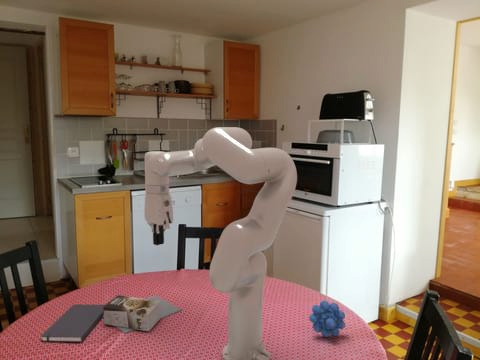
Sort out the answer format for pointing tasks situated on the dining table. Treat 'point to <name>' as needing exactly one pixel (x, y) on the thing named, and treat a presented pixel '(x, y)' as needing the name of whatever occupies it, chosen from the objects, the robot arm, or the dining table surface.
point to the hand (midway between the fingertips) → (158, 243)
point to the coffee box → (132, 312)
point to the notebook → (74, 324)
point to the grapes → (327, 319)
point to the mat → (166, 311)
